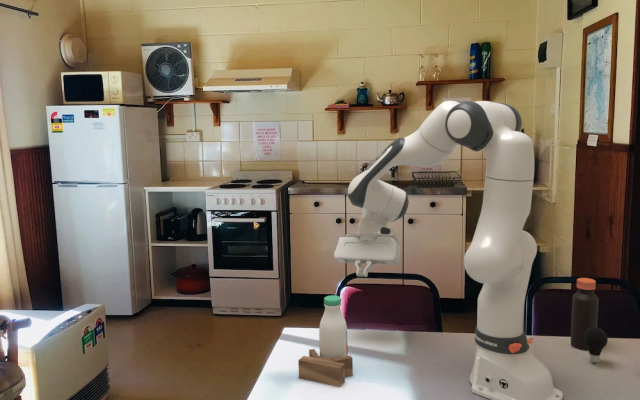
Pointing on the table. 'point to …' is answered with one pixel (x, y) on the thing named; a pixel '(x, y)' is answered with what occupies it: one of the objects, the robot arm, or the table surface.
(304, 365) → the cradle
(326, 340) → the milk bottle
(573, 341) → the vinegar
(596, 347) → the light bulb
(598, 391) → the table surface
